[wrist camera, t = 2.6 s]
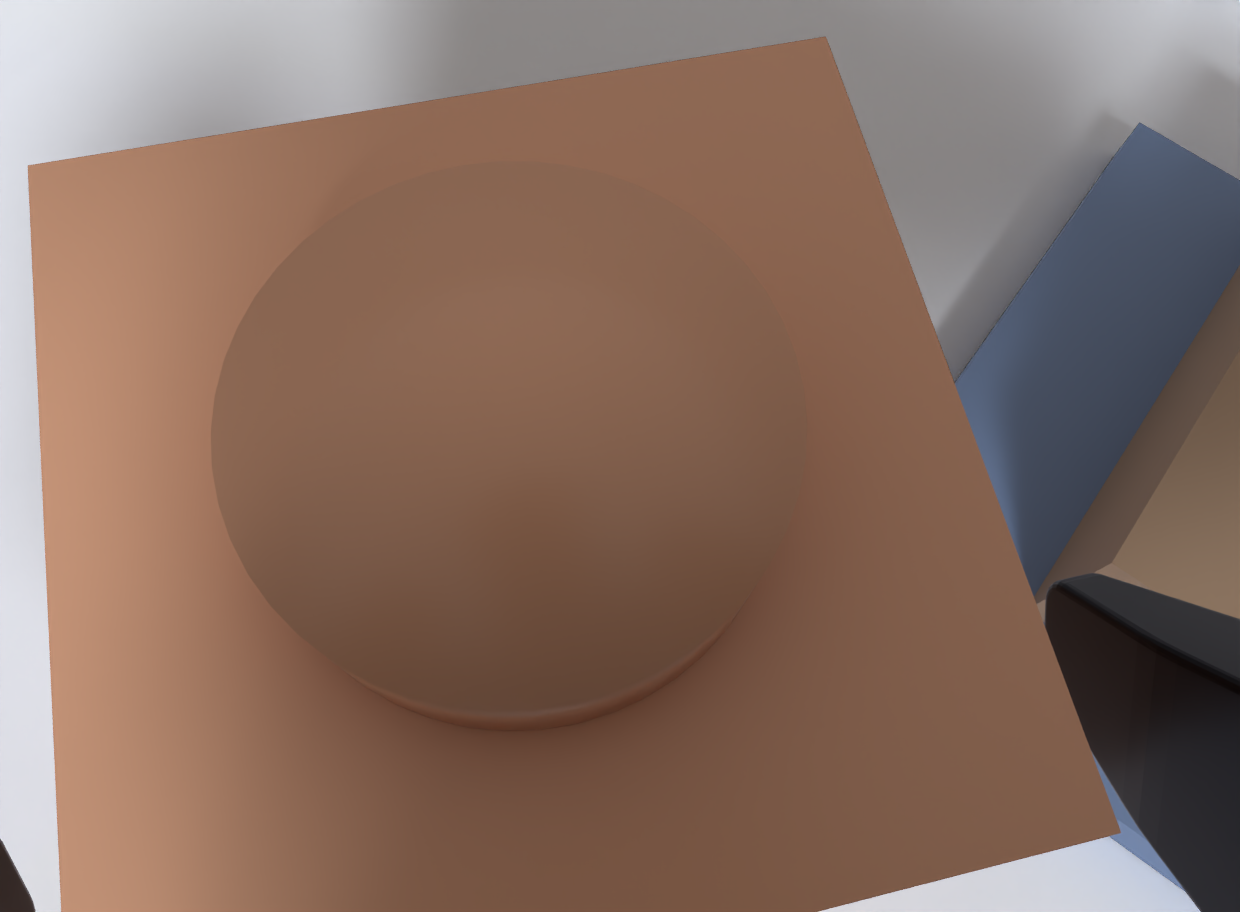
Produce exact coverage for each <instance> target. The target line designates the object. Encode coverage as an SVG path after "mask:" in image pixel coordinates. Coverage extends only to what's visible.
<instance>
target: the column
mask: <svg viewBox="0 0 1240 912" xmlns="http://www.w3.org/2000/svg"><path fill="white" fill-rule="evenodd" d="M28 181H29V204H30V226H31V248H32V270H33V292H34V315H35V337H36V359H37V381H38V403H39V426H40V448H41V470H42V492H43V514H44V537H45V559H46V581H47V603H48V625H49V648H50V670H51V692H52V714H53V736H54V759H55V781H56V803H57V825H58V847H59V870H60V892H61V912H818V911H822V910H825V909H829V908H833V907H837V906H841V905H845V904H849V903H853V902H856V901H860V900H864V899H868V898H872V897H876V896H880V895H883V894H887V893H891V892H895V891H899V890H903V889H907V888H911V887H914V886H918V885H922V884H926V883H930V882H934V881H938V880H942V879H945V878H949V877H953V876H957V875H961V874H965V873H969V872H972V871H976V870H980V869H984V868H988V867H992V866H996V865H1000V864H1003V863H1007V862H1011V861H1015V860H1019V859H1023V858H1027V857H1030V856H1034V855H1038V854H1042V853H1046V852H1050V851H1054V850H1058V849H1061V848H1065V847H1069V846H1073V845H1077V844H1081V843H1085V842H1088V841H1092V840H1096V839H1100V838H1104V837H1108V836H1112V835H1116V834H1119V833H1121V830H1120V828H1119V825H1118V822H1117V820H1116V817H1115V814H1114V812H1113V809H1112V806H1111V803H1110V801H1109V798H1108V795H1107V793H1106V790H1105V787H1104V785H1103V782H1102V779H1101V777H1100V774H1099V771H1098V768H1097V766H1096V763H1095V760H1094V758H1093V755H1092V752H1091V750H1090V747H1089V744H1088V742H1087V739H1086V736H1085V733H1084V731H1083V728H1082V725H1081V723H1080V720H1079V717H1078V715H1077V712H1076V709H1075V707H1074V704H1073V701H1072V698H1071V696H1070V693H1069V690H1068V688H1067V685H1066V682H1065V680H1064V677H1063V674H1062V671H1061V669H1060V666H1059V663H1058V661H1057V658H1056V655H1055V653H1054V650H1053V647H1052V645H1051V642H1050V639H1049V636H1048V634H1047V631H1046V628H1045V626H1044V623H1043V620H1042V618H1041V615H1040V612H1039V610H1038V607H1037V604H1036V601H1035V599H1034V596H1033V593H1032V591H1031V588H1030V585H1029V583H1028V580H1027V577H1026V574H1025V572H1024V569H1023V566H1022V564H1021V561H1020V558H1019V556H1018V553H1017V550H1016V548H1015V545H1014V542H1013V539H1012V537H1011V534H1010V531H1009V529H1008V526H1007V523H1006V521H1005V518H1004V515H1003V513H1002V510H1001V507H1000V504H999V502H998V499H997V496H996V494H995V491H994V488H993V486H992V483H991V480H990V478H989V475H988V472H987V469H986V467H985V464H984V461H983V459H982V456H981V453H980V451H979V448H978V445H977V442H976V440H975V437H974V434H973V432H972V429H971V426H970V424H969V421H968V418H967V416H966V413H965V410H964V407H963V405H962V402H961V399H960V397H959V394H958V391H957V389H956V386H955V383H954V381H953V378H952V375H951V372H950V370H949V367H948V364H947V362H946V359H945V356H944V354H943V351H942V348H941V345H940V343H939V340H938V337H937V335H936V332H935V329H934V327H933V324H932V321H931V319H930V316H929V313H928V310H927V308H926V305H925V302H924V300H923V297H922V294H921V292H920V289H919V286H918V284H917V281H916V278H915V275H914V273H913V270H912V267H911V265H910V262H909V259H908V257H907V254H906V251H905V249H904V246H903V243H902V240H901V238H900V235H899V232H898V230H897V227H896V224H895V222H894V219H893V216H892V213H891V211H890V208H889V205H888V203H887V200H886V197H885V195H884V192H883V189H882V187H881V184H880V181H879V178H878V176H877V173H876V170H875V168H874V165H873V162H872V160H871V157H870V154H869V152H868V149H867V146H866V143H865V141H864V138H863V135H862V133H861V130H860V127H859V125H858V122H857V119H856V117H855V114H854V111H853V108H852V106H851V103H850V100H849V98H848V95H847V92H846V90H845V87H844V84H843V81H842V79H841V76H840V73H839V71H838V68H837V65H836V63H835V60H834V57H833V55H832V52H831V49H830V46H829V44H828V41H827V38H826V37H820V38H814V39H808V40H801V41H795V42H789V43H783V44H777V45H771V46H764V47H758V48H752V49H746V50H740V51H733V52H727V53H721V54H715V55H709V56H703V57H696V58H690V59H684V60H678V61H672V62H665V63H659V64H653V65H647V66H641V67H635V68H628V69H622V70H616V71H610V72H604V73H597V74H591V75H585V76H579V77H573V78H566V79H560V80H554V81H548V82H542V83H536V84H529V85H523V86H517V87H511V88H505V89H498V90H492V91H486V92H480V93H474V94H468V95H461V96H455V97H449V98H443V99H437V100H430V101H424V102H418V103H412V104H406V105H400V106H393V107H387V108H381V109H375V110H369V111H362V112H356V113H350V114H344V115H338V116H332V117H325V118H319V119H313V120H307V121H301V122H294V123H288V124H282V125H276V126H270V127H263V128H257V129H251V130H245V131H239V132H233V133H226V134H220V135H214V136H208V137H202V138H195V139H189V140H183V141H177V142H171V143H165V144H158V145H152V146H146V147H140V148H134V149H127V150H121V151H115V152H109V153H103V154H97V155H90V156H84V157H78V158H72V159H66V160H59V161H53V162H47V163H41V164H35V165H28Z"/></svg>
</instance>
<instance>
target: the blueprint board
mask: <svg viewBox="0 0 1240 912" xmlns="http://www.w3.org/2000/svg"><path fill="white" fill-rule="evenodd" d="M955 386H956V389H957V391H958V394H959V397H960V399H961V402H962V405H963V407H964V410H965V413H966V416H967V418H968V421H969V424H970V426H971V429H972V432H973V434H974V437H975V440H976V442H977V445H978V448H979V451H980V453H981V456H982V459H983V461H984V464H985V467H986V469H987V472H988V475H989V478H990V480H991V483H992V486H993V488H994V491H995V494H996V496H997V499H998V502H999V504H1000V507H1001V510H1002V513H1003V515H1004V518H1005V521H1006V523H1007V526H1008V529H1009V531H1010V534H1011V537H1012V539H1013V542H1014V545H1015V548H1016V550H1017V553H1018V556H1019V558H1020V561H1021V564H1022V566H1023V569H1024V572H1025V574H1026V577H1027V580H1028V583H1029V585H1030V588H1031V591H1032V593H1033V596H1034V599H1035V601H1036V604H1037V607H1038V610H1039V612H1040V615H1041V618H1042V620H1043V623H1044V621H1045V600H1046V594H1047V591H1048V589H1049V587H1050V586H1051V585H1052V584H1053V583H1054V582H1056V581H1058V580H1062V579H1067V578H1071V577H1075V576H1080V575H1084V574H1089V573H1098V574H1102V575H1105V576H1108V577H1111V578H1114V579H1118V580H1121V581H1124V582H1127V583H1130V584H1133V585H1136V586H1139V587H1142V588H1145V589H1149V590H1152V591H1155V592H1158V593H1161V594H1164V595H1167V596H1170V597H1173V598H1176V599H1180V600H1183V601H1186V602H1189V603H1192V604H1195V605H1198V606H1201V607H1204V608H1207V609H1210V610H1214V611H1217V612H1220V613H1223V614H1226V615H1229V616H1232V617H1235V618H1238V619H1240V180H1238V179H1237V178H1235V177H1233V176H1231V175H1230V174H1228V173H1226V172H1224V171H1223V170H1221V169H1219V168H1218V167H1216V166H1214V165H1212V164H1211V163H1209V162H1207V161H1205V160H1204V159H1202V158H1200V157H1199V156H1197V155H1195V154H1193V153H1192V152H1190V151H1188V150H1186V149H1185V148H1183V147H1181V146H1180V145H1178V144H1176V143H1174V142H1173V141H1171V140H1169V139H1167V138H1166V137H1164V136H1162V135H1161V134H1159V133H1157V132H1155V131H1154V130H1152V129H1150V128H1148V127H1147V126H1145V125H1143V124H1142V123H1139V124H1138V125H1137V127H1136V128H1135V129H1134V131H1133V132H1132V133H1131V135H1130V136H1129V137H1128V138H1127V140H1126V141H1125V142H1124V144H1123V145H1122V146H1121V148H1120V149H1119V150H1118V152H1117V153H1116V154H1115V156H1114V157H1113V158H1112V160H1111V161H1110V163H1109V164H1108V166H1107V167H1106V168H1105V170H1104V171H1103V173H1102V174H1101V175H1100V177H1099V178H1098V180H1097V181H1096V183H1095V184H1094V185H1093V187H1092V188H1091V190H1090V191H1089V193H1088V194H1087V195H1086V197H1085V198H1084V200H1083V201H1082V202H1081V204H1080V205H1079V207H1078V208H1077V210H1076V211H1075V212H1074V214H1073V215H1072V217H1071V218H1070V220H1069V221H1068V222H1067V224H1066V225H1065V227H1064V228H1063V229H1062V231H1061V232H1060V234H1059V235H1058V237H1057V238H1056V239H1055V241H1054V242H1053V244H1052V245H1051V247H1050V248H1049V249H1048V251H1047V252H1046V254H1045V255H1044V256H1043V258H1042V259H1041V261H1040V262H1039V264H1038V265H1037V266H1036V268H1035V269H1034V271H1033V272H1032V273H1031V275H1030V276H1029V278H1028V279H1027V281H1026V282H1025V283H1024V285H1023V286H1022V288H1021V289H1020V291H1019V292H1018V293H1017V295H1016V296H1015V298H1014V299H1013V300H1012V302H1011V303H1010V305H1009V306H1008V308H1007V309H1006V310H1005V312H1004V313H1003V315H1002V316H1001V318H1000V319H999V320H998V322H997V323H996V325H995V326H994V327H993V329H992V330H991V332H990V333H989V335H988V336H987V337H986V339H985V340H984V342H983V343H982V345H981V346H980V347H979V349H978V350H977V352H976V353H975V354H974V356H973V357H972V359H971V360H970V362H969V363H968V364H967V366H966V367H965V369H964V370H963V372H962V373H961V374H960V376H959V377H958V379H957V380H956V381H955ZM1092 755H1093V754H1092ZM1093 758H1094V756H1093ZM1094 760H1095V763H1096V766H1097V768H1098V771H1099V774H1100V777H1101V779H1102V782H1103V785H1104V787H1105V790H1106V793H1107V795H1108V798H1109V801H1110V803H1111V806H1112V809H1113V812H1114V814H1115V817H1116V820H1117V822H1118V825H1119V828H1120V830H1121V833H1119V834H1116V835H1112V836H1109V837H1111V838H1112V839H1114V840H1115V841H1116V842H1118V843H1119V844H1120V845H1122V846H1123V847H1125V848H1126V849H1127V850H1129V851H1130V852H1132V853H1133V854H1134V855H1136V856H1137V857H1138V858H1140V859H1141V860H1143V861H1144V862H1145V863H1147V864H1148V865H1149V866H1151V867H1152V868H1154V869H1155V870H1156V871H1158V872H1159V873H1161V874H1162V875H1163V876H1165V877H1166V878H1167V879H1169V880H1170V881H1172V882H1173V883H1174V884H1176V885H1177V886H1179V887H1180V888H1181V889H1183V887H1182V886H1181V885H1180V884H1179V882H1178V881H1177V880H1176V878H1175V877H1174V876H1173V874H1172V873H1171V872H1170V870H1169V869H1168V868H1167V866H1166V865H1165V864H1164V862H1163V861H1162V860H1161V858H1160V857H1159V856H1158V854H1157V853H1156V852H1155V850H1154V849H1153V848H1152V846H1151V845H1150V844H1149V842H1148V841H1147V839H1146V838H1145V837H1144V835H1143V834H1142V832H1141V831H1140V830H1139V828H1138V827H1137V825H1136V824H1135V822H1134V821H1133V819H1132V818H1131V816H1130V815H1129V813H1128V811H1127V810H1126V808H1125V807H1124V805H1123V804H1122V802H1121V800H1120V799H1119V797H1118V796H1117V794H1116V792H1115V791H1114V789H1113V787H1112V786H1111V784H1110V782H1109V781H1108V779H1107V777H1106V776H1105V774H1104V772H1103V771H1102V769H1101V767H1100V766H1099V764H1098V762H1097V761H1096V759H1095V758H1094ZM1183 890H1184V889H1183ZM1184 891H1185V890H1184ZM1185 892H1186V891H1185Z"/></svg>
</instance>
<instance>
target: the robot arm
mask: <svg viewBox="0 0 1240 912" xmlns="http://www.w3.org/2000/svg"><path fill="white" fill-rule="evenodd" d="M1044 626H1045V628H1046V631H1047V634H1048V636H1049V639H1050V642H1051V645H1052V647H1053V650H1054V653H1055V655H1056V658H1057V661H1058V663H1059V666H1060V669H1061V671H1062V674H1063V677H1064V680H1065V682H1066V685H1067V688H1068V690H1069V693H1070V696H1071V698H1072V701H1073V704H1074V707H1075V709H1076V712H1077V715H1078V717H1079V720H1080V723H1081V725H1082V728H1083V731H1084V733H1085V736H1086V739H1087V742H1088V744H1089V747H1090V750H1091V752H1092V754H1093V756H1094V758H1095V759H1096V761H1097V762H1098V764H1099V766H1100V767H1101V769H1102V771H1103V772H1104V774H1105V776H1106V777H1107V779H1108V781H1109V782H1110V784H1111V786H1112V787H1113V789H1114V791H1115V792H1116V794H1117V796H1118V797H1119V799H1120V800H1121V802H1122V804H1123V805H1124V807H1125V808H1126V810H1127V811H1128V813H1129V815H1130V816H1131V818H1132V819H1133V821H1134V822H1135V824H1136V825H1137V827H1138V828H1139V830H1140V831H1141V832H1142V834H1143V835H1144V837H1145V838H1146V839H1147V841H1148V842H1149V844H1150V845H1151V846H1152V848H1153V849H1154V850H1155V852H1156V853H1157V854H1158V856H1159V857H1160V858H1161V860H1162V861H1163V862H1164V864H1165V865H1166V866H1167V868H1168V869H1169V870H1170V872H1171V873H1172V874H1173V876H1174V877H1175V878H1176V880H1177V881H1178V882H1179V884H1180V885H1181V886H1182V887H1183V889H1184V890H1185V891H1186V893H1187V894H1188V895H1189V897H1190V898H1191V899H1192V901H1193V902H1194V903H1195V905H1196V906H1197V907H1198V909H1199V910H1200V911H1201V912H1240V619H1238V618H1235V617H1232V616H1229V615H1226V614H1223V613H1220V612H1217V611H1214V610H1210V609H1207V608H1204V607H1201V606H1198V605H1195V604H1192V603H1189V602H1186V601H1183V600H1180V599H1176V598H1173V597H1170V596H1167V595H1164V594H1161V593H1158V592H1155V591H1152V590H1149V589H1145V588H1142V587H1139V586H1136V585H1133V584H1130V583H1127V582H1124V581H1121V580H1118V579H1114V578H1111V577H1108V576H1105V575H1102V574H1098V573H1089V574H1084V575H1080V576H1075V577H1071V578H1067V579H1062V580H1058V581H1056V582H1054V583H1053V584H1052V585H1051V586H1050V587H1049V589H1048V591H1047V594H1046V600H1045V621H1044ZM0 912H35V908H34V904H33V901H32V898H31V896H30V894H29V892H28V890H27V888H26V886H25V884H24V882H23V880H22V878H21V877H20V875H19V873H18V871H17V869H16V867H15V865H14V863H13V861H12V859H11V857H10V855H9V854H8V852H7V850H6V848H5V846H4V844H3V842H2V841H1V839H0Z"/></svg>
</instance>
